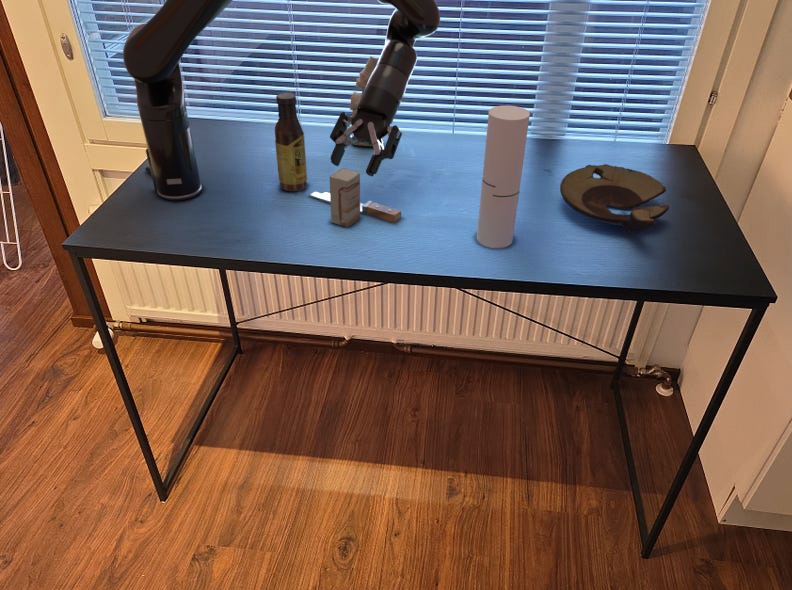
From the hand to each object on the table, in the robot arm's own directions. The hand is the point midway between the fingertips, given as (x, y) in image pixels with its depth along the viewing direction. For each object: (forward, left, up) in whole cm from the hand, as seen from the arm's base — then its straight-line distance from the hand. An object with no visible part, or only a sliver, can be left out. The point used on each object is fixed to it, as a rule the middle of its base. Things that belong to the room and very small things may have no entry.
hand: (351, 169), depth 132 cm
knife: (-2, +3, -10) cm, 11 cm away
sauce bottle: (-19, +4, -10) cm, 22 cm away
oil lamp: (+45, +30, -10) cm, 55 cm away
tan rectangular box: (0, -2, -10) cm, 11 cm away
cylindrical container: (+29, +8, -10) cm, 32 cm away
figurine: (-20, +34, -10) cm, 41 cm away
